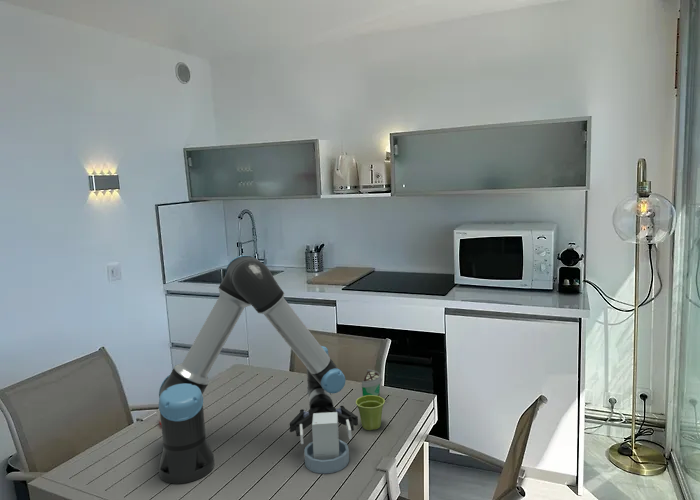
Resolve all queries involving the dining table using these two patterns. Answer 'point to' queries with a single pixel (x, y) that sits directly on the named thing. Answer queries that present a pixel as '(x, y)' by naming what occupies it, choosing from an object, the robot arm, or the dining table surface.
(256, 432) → the dining table surface
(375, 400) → the plant pot
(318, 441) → the supplement box
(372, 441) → the dining table surface
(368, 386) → the food container
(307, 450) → the bowl
